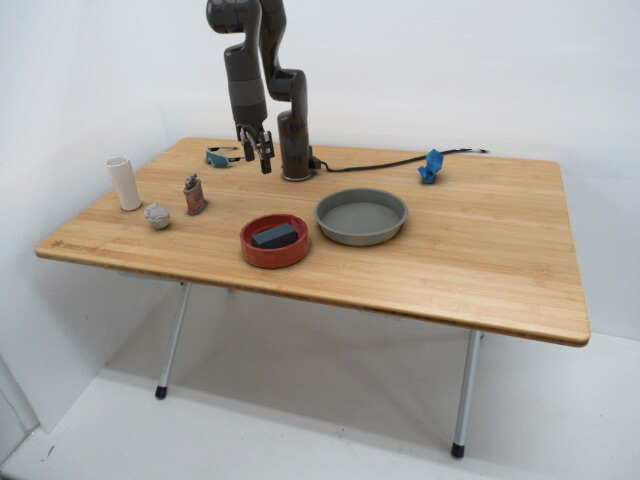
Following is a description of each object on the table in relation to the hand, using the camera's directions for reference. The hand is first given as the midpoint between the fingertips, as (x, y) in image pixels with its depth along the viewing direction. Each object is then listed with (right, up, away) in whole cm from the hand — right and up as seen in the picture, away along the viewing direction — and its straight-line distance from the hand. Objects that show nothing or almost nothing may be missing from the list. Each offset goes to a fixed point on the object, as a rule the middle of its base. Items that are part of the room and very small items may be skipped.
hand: (258, 166), depth 109 cm
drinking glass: (-42, -7, +31) cm, 53 cm away
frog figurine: (-30, -14, +21) cm, 39 cm away
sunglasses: (-18, +12, +57) cm, 60 cm away
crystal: (+48, +2, +35) cm, 60 cm away
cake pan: (+25, -13, +16) cm, 33 cm away
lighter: (-22, -8, +29) cm, 37 cm away
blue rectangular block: (+3, -19, +8) cm, 21 cm away
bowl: (+3, -19, +8) cm, 21 cm away
